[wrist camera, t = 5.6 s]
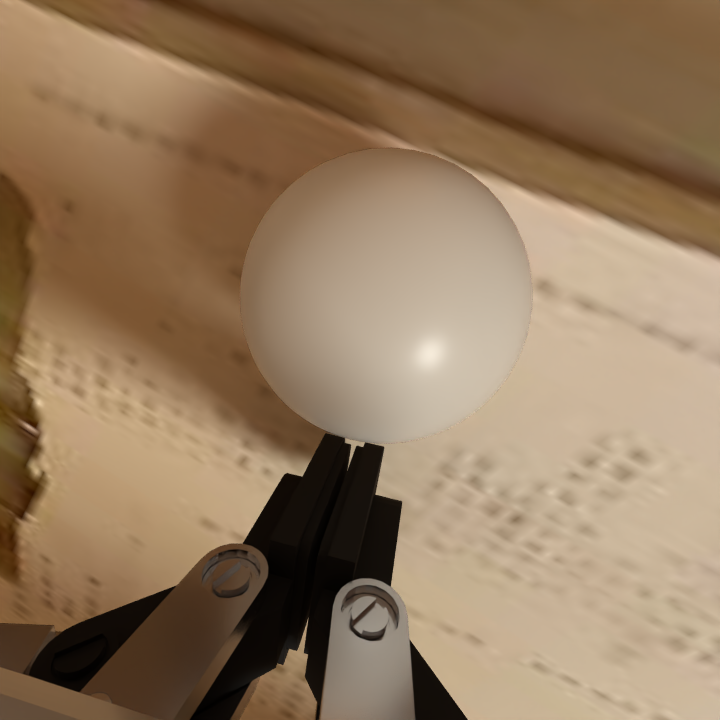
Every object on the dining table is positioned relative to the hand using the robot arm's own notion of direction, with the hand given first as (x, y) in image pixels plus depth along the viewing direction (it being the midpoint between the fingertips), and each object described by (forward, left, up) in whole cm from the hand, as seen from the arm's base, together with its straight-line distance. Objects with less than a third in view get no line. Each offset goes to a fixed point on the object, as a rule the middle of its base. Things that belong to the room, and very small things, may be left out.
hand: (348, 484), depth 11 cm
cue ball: (+5, 0, +1) cm, 6 cm away
